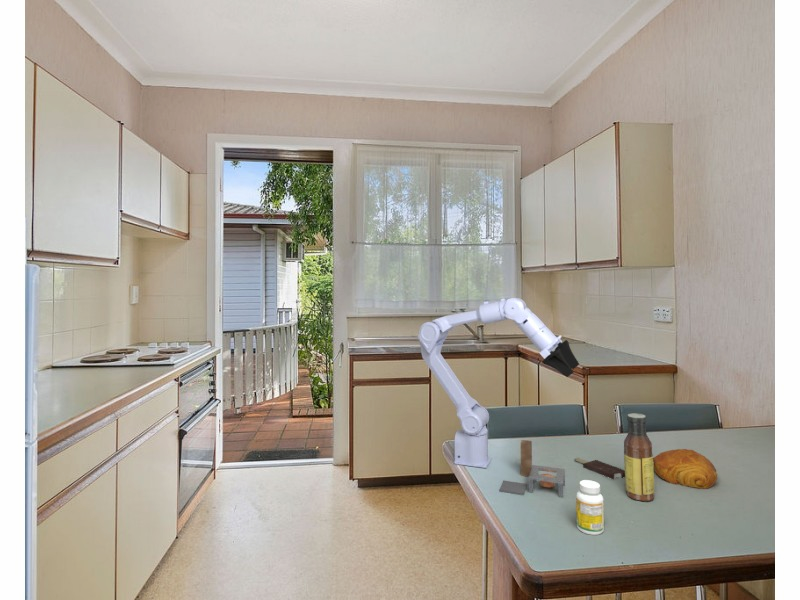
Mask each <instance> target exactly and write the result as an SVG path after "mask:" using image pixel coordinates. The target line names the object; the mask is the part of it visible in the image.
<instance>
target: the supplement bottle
mask: <svg viewBox="0 0 800 600" xmlns="http://www.w3.org/2000/svg"><path fill="white" fill-rule="evenodd" d="M575 497H576V499H575V501H576V503H575V505H576V513H575V515H576V519H575V520H576V522H575V523H576V524H575V525H576V528H577V529H578V530H579V531H581V532H582V533H583V534H586V535H592V536H598V535H601V534H603V532H604V530H605V529H604V528H605V524H604V523H605V522H604V521H605V519H604V515H605V514H604V513H605V512H604V511H605V510H604V506H605V505H604V496H603V495H602V494H601V485H600V483H598V481H594V480H591V479H590V480H589V479H583V480H580V481H579V490H578V491H577V492H576V495H575Z"/></svg>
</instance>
